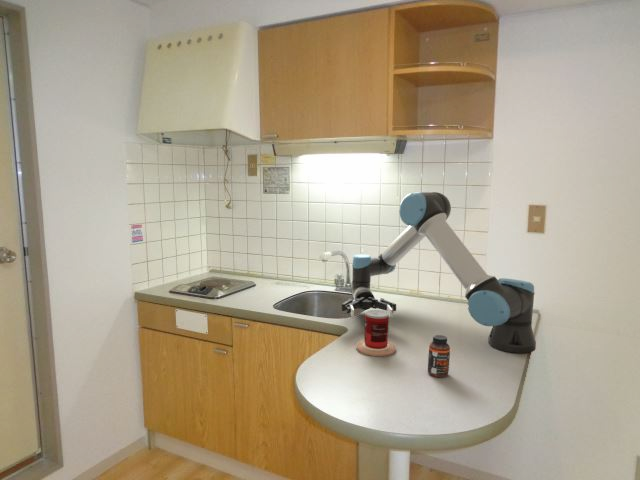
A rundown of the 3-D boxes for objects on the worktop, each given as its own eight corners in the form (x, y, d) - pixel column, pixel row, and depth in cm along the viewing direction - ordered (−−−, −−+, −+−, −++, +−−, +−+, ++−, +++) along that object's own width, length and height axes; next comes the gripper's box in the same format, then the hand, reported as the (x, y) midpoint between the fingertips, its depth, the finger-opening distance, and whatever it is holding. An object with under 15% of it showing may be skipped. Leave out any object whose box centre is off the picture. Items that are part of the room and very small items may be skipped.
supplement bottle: (436, 379, 132) (438, 341, 131) (423, 371, 138) (425, 334, 136) (452, 376, 135) (454, 338, 134) (439, 368, 140) (441, 332, 139)
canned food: (373, 339, 161) (374, 308, 160) (392, 345, 156) (393, 313, 154) (359, 344, 156) (360, 312, 154) (378, 351, 150) (379, 318, 149)
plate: (403, 351, 154) (403, 347, 154) (372, 359, 147) (373, 355, 147) (378, 340, 165) (378, 336, 164) (348, 346, 158) (348, 342, 158)
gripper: (394, 307, 186) (406, 323, 165) (332, 307, 185) (336, 323, 164) (395, 289, 185) (407, 303, 164) (333, 288, 184) (337, 303, 163)
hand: (372, 313), depth 164 cm, fingers open, 13 cm apart
